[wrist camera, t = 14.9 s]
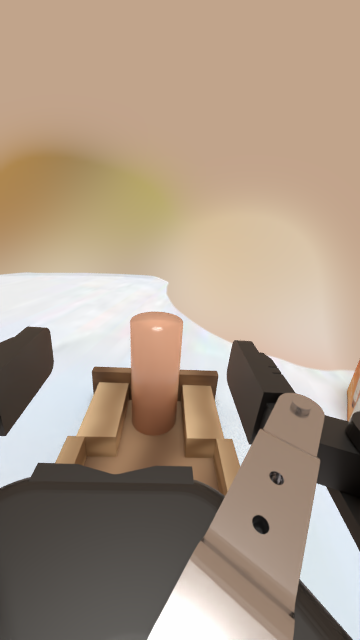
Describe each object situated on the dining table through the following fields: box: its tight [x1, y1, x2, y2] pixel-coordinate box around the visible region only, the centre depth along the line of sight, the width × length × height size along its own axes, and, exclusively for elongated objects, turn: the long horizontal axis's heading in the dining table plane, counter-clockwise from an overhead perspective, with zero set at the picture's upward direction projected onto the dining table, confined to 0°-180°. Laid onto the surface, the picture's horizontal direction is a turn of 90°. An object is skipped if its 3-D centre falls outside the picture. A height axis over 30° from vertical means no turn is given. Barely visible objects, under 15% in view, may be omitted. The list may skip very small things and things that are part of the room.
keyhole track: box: [55, 367, 240, 496], centre depth 23 cm, size 15×18×5 cm
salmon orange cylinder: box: [130, 312, 183, 436], centre depth 26 cm, size 5×5×12 cm
